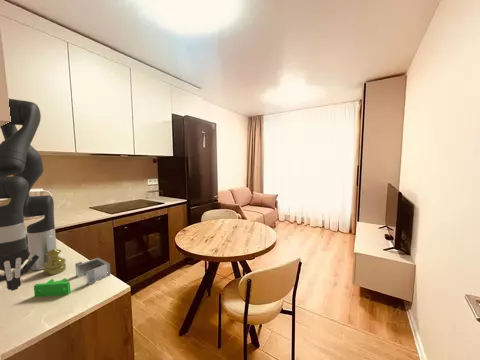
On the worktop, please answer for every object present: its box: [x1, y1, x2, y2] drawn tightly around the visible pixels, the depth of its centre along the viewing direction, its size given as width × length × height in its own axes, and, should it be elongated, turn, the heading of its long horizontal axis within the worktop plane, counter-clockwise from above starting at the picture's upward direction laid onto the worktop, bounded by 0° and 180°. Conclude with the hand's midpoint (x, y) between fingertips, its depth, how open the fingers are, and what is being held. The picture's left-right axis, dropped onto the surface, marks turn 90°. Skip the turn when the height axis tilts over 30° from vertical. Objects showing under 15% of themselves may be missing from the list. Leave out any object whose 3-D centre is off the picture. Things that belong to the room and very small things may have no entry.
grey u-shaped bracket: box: [74, 257, 112, 286], centre depth 85 cm, size 13×8×5 cm, turn 58°
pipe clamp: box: [33, 277, 71, 298], centre depth 74 cm, size 11×4×5 cm, turn 97°
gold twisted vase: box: [42, 248, 67, 276], centre depth 89 cm, size 7×8×10 cm
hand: (14, 289), depth 65 cm, fingers closed
